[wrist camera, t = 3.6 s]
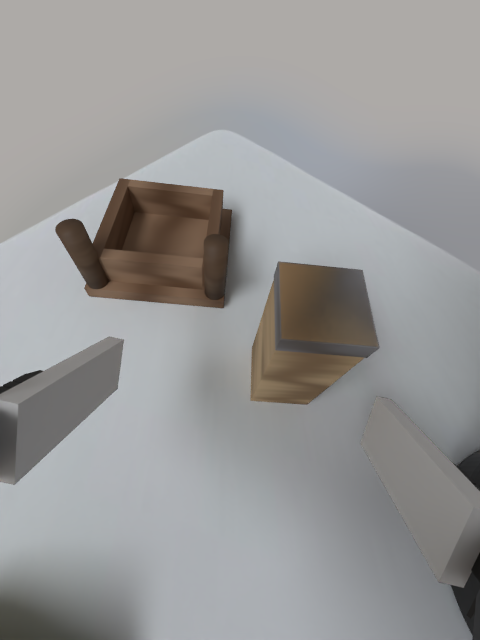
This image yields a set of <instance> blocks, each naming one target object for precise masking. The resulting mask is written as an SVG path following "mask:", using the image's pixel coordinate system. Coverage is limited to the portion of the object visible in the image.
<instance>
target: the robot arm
mask: <svg viewBox="0 0 480 640" xmlns="http://www.w3.org/2000/svg"><path fill="white" fill-rule="evenodd" d="M123 343H124V340H122V339H118V338H113V337H107V338H106V339H104V340H102V341H100V342H98V343H96V344H94V345H92V346H90V347H89V348H87V349H85V350H83V351H81V352H79V353H77V354H75V355H73V356H71V357H70V358H68V359H66V360H64V361H62V362H60V363H58V364H56V365H54V366H52V367H51V368H49V369H47V370H45V371H41V370H39V371H35V372H32V373H28V374H24V375H22V376H20V377H18V378H16V379H14V380H13V382H12V381H10V382H8V383H6V384H4V385H3V387H2V386H0V482H4V483H8V484H12V485H15V484H16V483H17V482H18V481H19V480H20V479H21V478H22V477H23V476H25V475H26V474H27V473H28V472H29V471H30V470H31V469H32V468H33V467H34V466H35V465H36V464H37V463H38V462H40V461H41V460H42V459H43V458H44V457H45V456H46V455H47V454H48V453H49V452H50V451H51V450H52V449H53V448H55V447H56V446H57V445H58V444H59V443H60V442H61V441H62V440H63V439H64V438H65V437H66V436H67V435H68V434H70V433H71V432H72V431H73V430H74V429H75V428H76V427H77V426H78V425H79V424H80V423H81V422H82V421H83V420H85V419H86V418H87V417H88V416H89V415H90V414H91V413H92V412H93V411H94V410H95V409H96V408H97V407H98V406H99V405H101V404H102V403H103V402H104V401H105V400H106V399H107V398H108V397H109V396H110V395H111V394H112V393H113V392H114V391H116V390H117V389H118V381H119V373H120V366H121V358H122V350H123ZM360 444H361V445H362V447H363V449H364V451H365V453H366V454H367V456H368V458H369V460H370V461H371V463H372V465H373V467H374V469H375V470H376V472H377V474H378V476H379V477H380V479H381V481H382V483H383V484H384V486H385V488H386V490H387V492H388V493H389V495H390V497H391V499H392V500H393V502H394V504H395V506H396V508H397V509H398V511H399V513H400V515H401V516H402V518H403V520H404V522H405V524H406V525H407V527H408V529H409V531H410V532H411V534H412V536H413V538H414V539H415V541H416V543H417V545H418V547H419V548H420V550H421V552H422V554H423V555H424V557H425V559H426V561H427V563H428V564H429V566H430V568H431V570H432V571H433V573H434V575H435V577H436V578H437V580H438V582H440V583H445V584H449V585H452V589H453V592H454V594H455V597H456V600H457V602H458V605H459V607H460V610H461V612H462V614H463V617H464V619H465V621H466V623H467V625H468V627H469V629H470V631H471V633H472V635H473V639H472V640H480V451H478V452H476V453H474V454H472V455H471V456H469V457H468V458H466V459H465V460H464V461H463V462H462V463H461V464H460V465H459V466H456V465H455V464H453V463H452V462H451V461H450V460H449V459H448V458H447V457H446V456H445V455H444V454H443V453H442V452H441V451H440V450H439V448H438V447H437V446H436V445H435V444H434V443H433V442H432V441H431V440H430V439H429V438H428V437H427V436H426V435H425V434H424V433H423V432H422V431H421V430H420V429H419V428H418V427H417V426H416V425H415V424H414V422H413V421H412V420H411V419H410V418H409V417H408V416H407V415H406V414H405V413H404V412H403V411H402V410H401V409H400V408H399V407H398V406H397V405H396V404H395V403H394V402H393V401H392V400H391V399H387V398H382V397H378V396H376V399H375V402H374V405H373V408H372V411H371V414H370V417H369V420H368V422H367V425H366V428H365V431H364V434H363V437H362V440H361V443H360Z"/></svg>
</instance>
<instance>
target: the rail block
mask: <svg viewBox="0 0 480 640" xmlns="http://www.w3.org/2000/svg"><path fill="white" fill-rule="evenodd" d="M378 348H379V344H378V339H377V335H376V330H375V326H374V321H373V316H372V312H371V307H370V303H369V298H368V293H367V289H366V284H365V280H364V275H363V270H357V269H347V268H337V267H327V266H317V265H308V264H298V263H288V262H278V264H277V267H276V271H275V274H274V281H273V284H272V287H271V290H270V293H269V296H268V299H267V302H266V306H265V309H264V312H263V315H262V318H261V321H260V324H259V328H258V331H257V334H256V337H255V340H254V343H253V346H252V365H251V401H264V402H278V403H292V404H306V405H307V404H308V403H310V402H311V401H312V400H313V399H314V398H316V397H317V396H318V395H319V394H321V393H322V392H323V391H324V390H326V389H327V388H328V387H329V386H330V385H332V384H333V383H334V382H335V381H337V380H338V379H339V378H340V377H341V376H343V375H344V374H345V373H346V372H348V371H349V370H350V369H351V368H353V367H354V366H355V365H356V364H357V363H359V362H360V361H361V360H362V359H364V358H367V357H368V356H370V355H371V354H372V353H373V352H375V351H376V350H377V349H378Z"/></svg>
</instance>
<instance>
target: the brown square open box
mask: <svg viewBox="0 0 480 640" xmlns="http://www.w3.org/2000/svg"><path fill="white" fill-rule="evenodd" d="M222 208H223V190H217V189H208V188H199V187H191V186H182V185H173V184H164V183H155V182H147V181H138V180H129V179H119V181H118V184H117V186H116V189H115V191H114V193H113V196H112V198H111V201H110V203H109V205H108V208H107V210H106V213H105V215H104V217H103V220H102V222H101V225H100V227H99V230H98V232H97V234H96V237H95V239H94V242H93V244H92V242H91V240H90V238H89V236H88V234H87V231H86V229H85V227H84V225H83V223H82V222H81V221H79V220H76V219H67V220H64V221H62V222H60V223H59V224H58V225H57V226H56V229H55V230H56V233H57V235H58V236H59V238H60V240H61V241H62V243H63V245H64V246H65V248H66V250H67V251H68V253H69V255H70V256H71V258H72V260H73V261H74V263H75V265H76V266H77V268H78V270H79V271H80V273H81V275H82V276H83V278H84V280H85V281H86V285H85V290H86V292H87V293H88V295H89V296H93V297H104V298H115V299H126V300H137V301H148V302H160V303H171V304H182V305H193V306H204V307H216V308H223V306H224V295H225V283H226V272H227V261H228V249H229V238H230V227H231V215H232V210H229V209H222Z"/></svg>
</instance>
